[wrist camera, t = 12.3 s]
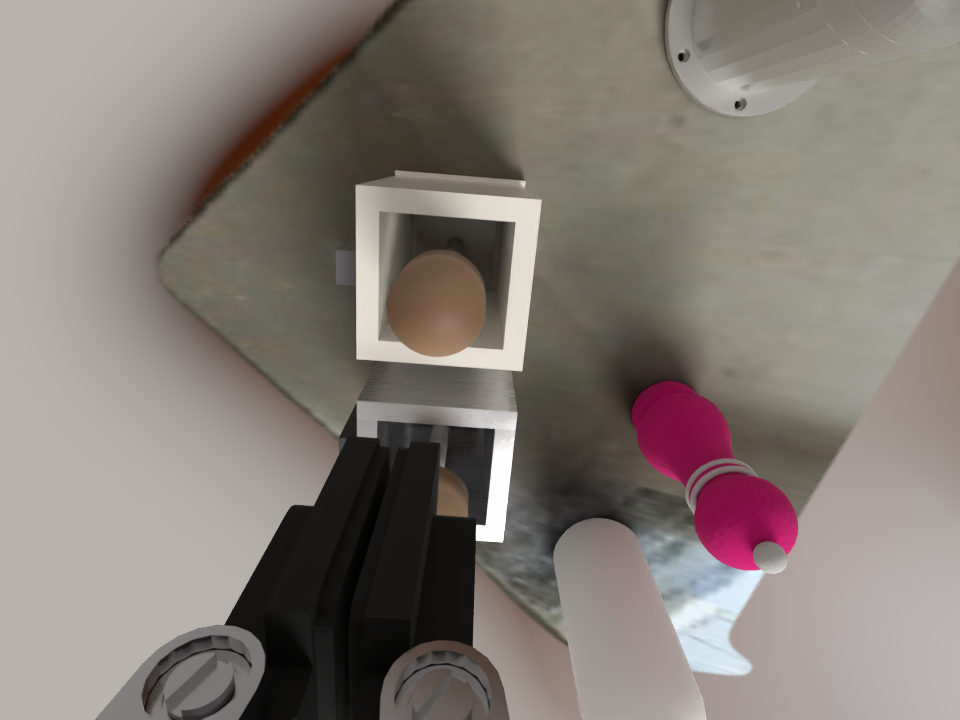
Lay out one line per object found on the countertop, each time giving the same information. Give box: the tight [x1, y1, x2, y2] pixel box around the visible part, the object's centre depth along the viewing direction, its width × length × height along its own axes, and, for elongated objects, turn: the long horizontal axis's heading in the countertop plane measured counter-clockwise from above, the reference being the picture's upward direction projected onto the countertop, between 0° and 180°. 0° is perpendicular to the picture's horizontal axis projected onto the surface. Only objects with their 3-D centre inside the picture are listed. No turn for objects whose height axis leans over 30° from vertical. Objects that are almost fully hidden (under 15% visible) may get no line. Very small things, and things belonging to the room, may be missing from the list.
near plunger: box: [387, 214, 497, 357], centre depth 33 cm, size 6×6×20 cm
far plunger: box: [430, 425, 469, 517], centre depth 37 cm, size 6×6×20 cm
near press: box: [335, 170, 542, 371], centre depth 36 cm, size 10×11×16 cm
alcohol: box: [553, 518, 706, 720], centre depth 41 cm, size 9×9×30 cm
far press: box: [339, 361, 517, 542], centre depth 40 cm, size 10×11×16 cm
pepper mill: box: [631, 381, 798, 574], centre depth 40 cm, size 7×7×20 cm
